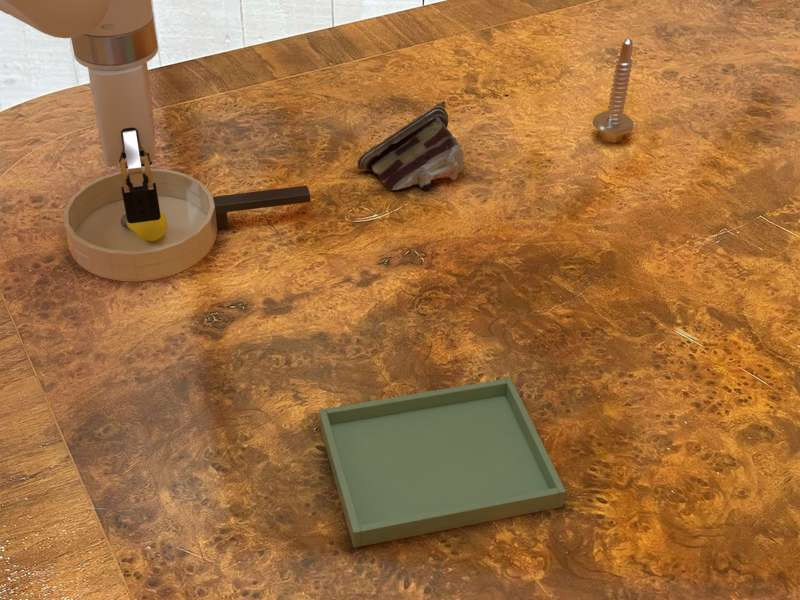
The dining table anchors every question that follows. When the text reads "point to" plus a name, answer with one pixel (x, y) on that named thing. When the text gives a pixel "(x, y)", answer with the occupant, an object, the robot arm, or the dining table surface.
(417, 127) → the striped layered wedge
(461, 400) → the tray
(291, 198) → the pan handle
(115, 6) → the robot arm
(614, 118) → the screw
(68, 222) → the pan
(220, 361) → the dining table surface
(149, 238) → the light bulb
